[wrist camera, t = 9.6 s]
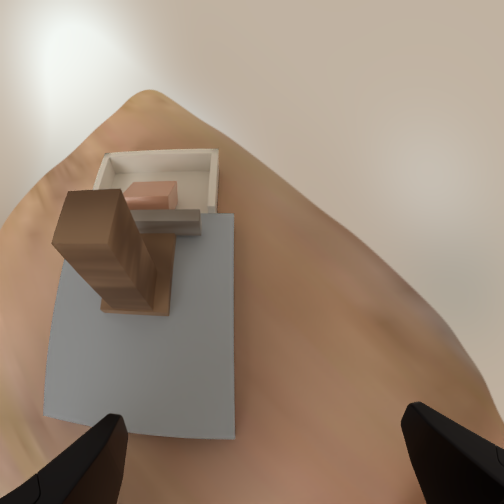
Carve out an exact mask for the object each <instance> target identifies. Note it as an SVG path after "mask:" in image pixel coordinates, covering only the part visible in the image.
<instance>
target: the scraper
mask: <svg viewBox="0 0 504 504" xmlns="http://www.w3.org/2000/svg"><path fill="white" fill-rule="evenodd" d="M201 232H202V221H201V213H200V209H163V210H129V207H128V205H127V202H126V200H125V198H124V195H123V193H122V190H121V189H100V190H82V191H68V193H67V196H66V199H65V202H64V205H63V208H62V211H61V214H60V217H59V220H58V223H57V226H56V230H55V233H54V236H53V240H52V243H51V244H52V245H53V246H54V247H55V248H56V249H57V251H58V252H59V253H60V254H61V255H62V256H63V257H64V259H65V260H66V261H67V262H68V263H69V264H70V265H71V266H72V267H73V268H74V269H75V271H76V272H77V273H78V274H79V275H80V276H81V277H82V278H83V279H84V280H85V281H86V282H87V283H88V284H89V285H90V286H91V287H92V288H93V289H94V291H95V292H96V293H97V294H98V295H99V296H100V297H101V298H102V299H101V306H100V310H101V311H103V312H104V313H115V314H132V315H152V316H169V314H170V300H171V287H172V276H173V265H174V255H175V245H176V236H177V235H185V236H201Z"/></svg>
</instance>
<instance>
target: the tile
mask: <svg viewBox="0 0 504 504" xmlns="http://www.w3.org/2000/svg"><path fill="white" fill-rule="evenodd" d="M123 195H124V198H125V200H126V202H127V205H128V207H129V210H163V209H175V208H176V206H177V204H178V192H177V181H151V182H133V183H132V184H131V185H130V186H129V187H128V188H127V189H126V190H125V191H124V192H123Z"/></svg>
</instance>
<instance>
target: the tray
mask: <svg viewBox="0 0 504 504" xmlns="http://www.w3.org/2000/svg"><path fill="white" fill-rule="evenodd" d="M151 181H177V192H178V204H177V206H176V208H175V209H200V213H217V201H218V181H219V150H218V149H170V150H147V151H130V152H116V153H105V155H104V158H103V160H102V163H101V166H100V169H99V172H98V174H97V177H96V180H95V183H94V186H93V190H100V189H121V190H122V193H123V192H124V191H125V190H126V189H127V188H128V187H129V186H130V185H131V184H132V183H133V182H151Z"/></svg>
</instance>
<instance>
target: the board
mask: <svg viewBox="0 0 504 504" xmlns="http://www.w3.org/2000/svg"><path fill="white" fill-rule="evenodd" d="M201 221H202V232H201V236H185V235H177V236H176V245H175V255H174V265H173V276H172V287H171V300H170V314H169V316H152V315H132V314H115V313H104V312H103V311H101V310H100V306H101V299H102V298H101V297H100V296H99V295H98V294H97V293H96V292H95V291H94V289H93V288H92V287H91V286H90V285H89V284H88V283H87V282H86V281H85V280H84V279H83V278H82V277H81V276H80V275H79V274H78V273H77V272H76V271H75V269H74V268H73V267H72V266H71V265H70V264H69V263H68V262H67V261H66V260H65V259H64V263H63V267H62V272H61V276H60V281H59V286H58V291H57V296H56V301H55V307H54V312H53V319H52V325H51V332H50V339H49V347H48V355H47V365H46V376H45V390H44V412H43V416H47V417H51V418H55V419H59V420H64V421H68V422H72V423H77V424H82V425H87V426H92V427H93V426H94V425H95V424H96V423H98V422H99V421H100V420H101V419H102V418H103V417H105V416H106V415H107V414H109V413H114V414H120V415H122V417H123V419H124V422H125V425H126V428H127V431H128V432H129V433H137V434H145V435H155V436H165V437H178V438H195V439H235V405H234V213H201Z"/></svg>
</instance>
